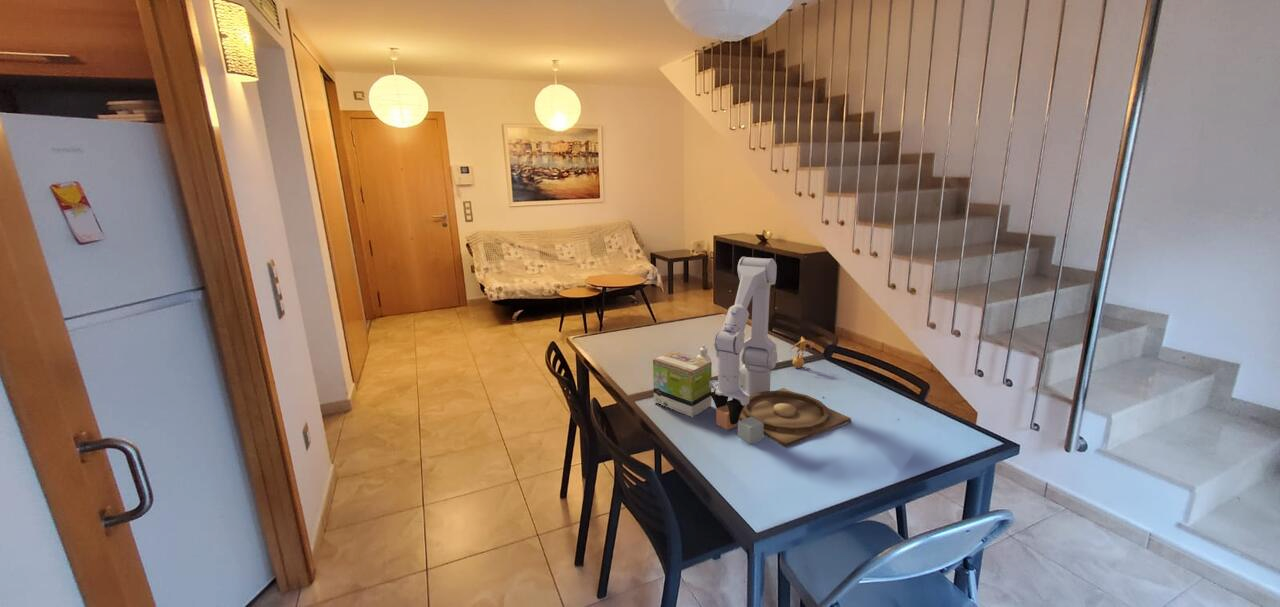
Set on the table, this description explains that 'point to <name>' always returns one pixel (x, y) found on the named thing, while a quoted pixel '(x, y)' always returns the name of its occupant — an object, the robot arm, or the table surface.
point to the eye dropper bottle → (704, 354)
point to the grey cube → (750, 430)
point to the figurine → (799, 361)
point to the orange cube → (724, 417)
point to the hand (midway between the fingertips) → (728, 419)
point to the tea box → (682, 382)
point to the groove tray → (791, 416)
